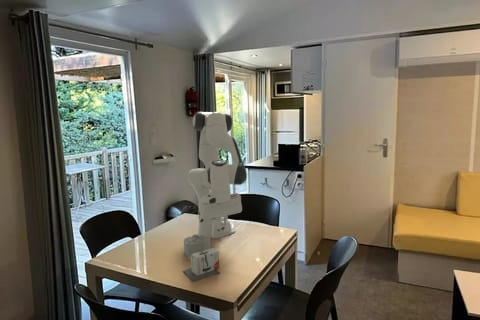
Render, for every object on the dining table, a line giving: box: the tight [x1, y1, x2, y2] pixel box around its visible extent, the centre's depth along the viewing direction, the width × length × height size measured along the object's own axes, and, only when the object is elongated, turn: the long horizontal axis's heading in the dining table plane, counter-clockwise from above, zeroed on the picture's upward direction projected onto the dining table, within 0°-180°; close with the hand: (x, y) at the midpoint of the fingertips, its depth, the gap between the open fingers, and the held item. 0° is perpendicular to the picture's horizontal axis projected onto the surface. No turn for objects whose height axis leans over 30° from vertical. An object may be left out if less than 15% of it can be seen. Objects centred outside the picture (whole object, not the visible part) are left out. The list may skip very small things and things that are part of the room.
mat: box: [182, 267, 221, 282], centre depth 153 cm, size 13×11×1 cm
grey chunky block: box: [183, 233, 211, 259], centre depth 174 cm, size 10×13×9 cm
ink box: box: [190, 247, 220, 276], centre depth 153 cm, size 8×5×12 cm
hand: (222, 225), depth 157 cm, fingers closed
